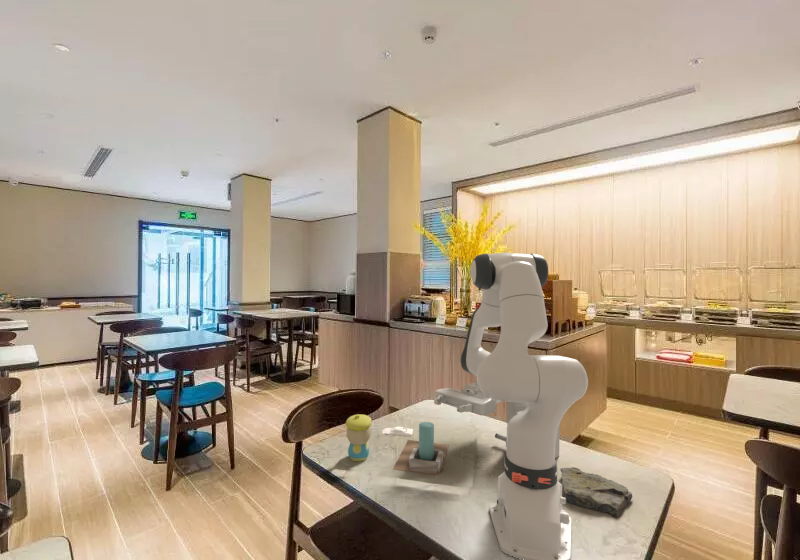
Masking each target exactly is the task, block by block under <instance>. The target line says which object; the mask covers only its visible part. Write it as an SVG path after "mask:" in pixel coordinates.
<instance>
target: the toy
mask: <svg viewBox="0 0 800 560" xmlns="http://www.w3.org/2000/svg"><path fill="white" fill-rule="evenodd" d="M372 421H373V420H372V418H371V417H370V416H369V415H367V414H359V413H357V414H353V415H350V416H349V417H348V418H347V419H346V421H345V426H346V428H347V429H346V438H347V440H348V442H349V445H348V447H347V448H348V449H347V454H348V457H349V459H350V460H351V461H354V462H363V461H366V460H367V458H368V456H369V455H370V447H369V444H368V442H369V440H370V438H371V434H372V433H371V432H372V429H371V428H372V427H371V425H372Z"/></svg>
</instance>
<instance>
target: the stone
mask: <svg viewBox="0 0 800 560" xmlns="http://www.w3.org/2000/svg"><path fill="white" fill-rule="evenodd" d="M559 470H560V472H561V485H562V492H563V495H564V498H566V502H568V503H570V504H573V505H577V506H580V507H583V508H587V509H590V510H596V511H599V512H602V513H608V514H610V515H611V517H615V518H618V517H619V516H621V512H622V510H623V508H625V507H627V505H628V504H629V503H630V502H631V501H632V500H633V493H632V492H631V491H629V490H628V488H627V487H626V486H624V485H623V484H621V483H620V484H619V483H618V482H616V481H614V480H611V479H608V478H606V477H603V476H602V475H599V474H595V473H589V472H585V471H582V470H581V469H580V468H578V467H575V466H573V467H562V468H560V469H559Z"/></svg>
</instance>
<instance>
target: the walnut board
mask: <svg viewBox="0 0 800 560" xmlns="http://www.w3.org/2000/svg"><path fill="white" fill-rule="evenodd" d="M449 446H450V444H447V443H446V444H445V443H439V442H434V461H428V460H420V459H419V440H412V439H407V442H406V443H405V445H404V447H403V449H402V451H401V453H400V455H399V456H398V458H397V460H396V462H395V464H394V465H393V468H392V470H394V471H403V472H409V473H416V474H423V475H431V476H438V477H441V476H442V471H443V468H444V465H445V462H446V458H447V455H448V449H449Z"/></svg>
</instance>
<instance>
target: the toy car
mask: <svg viewBox="0 0 800 560" xmlns="http://www.w3.org/2000/svg"><path fill="white" fill-rule="evenodd" d="M413 433H414V429H413V428H407V427H404V426H395V427H387V428H386V427H385V428H383V429H382V433H381V434H383V435H392V436H403V437H412V436H413Z"/></svg>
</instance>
